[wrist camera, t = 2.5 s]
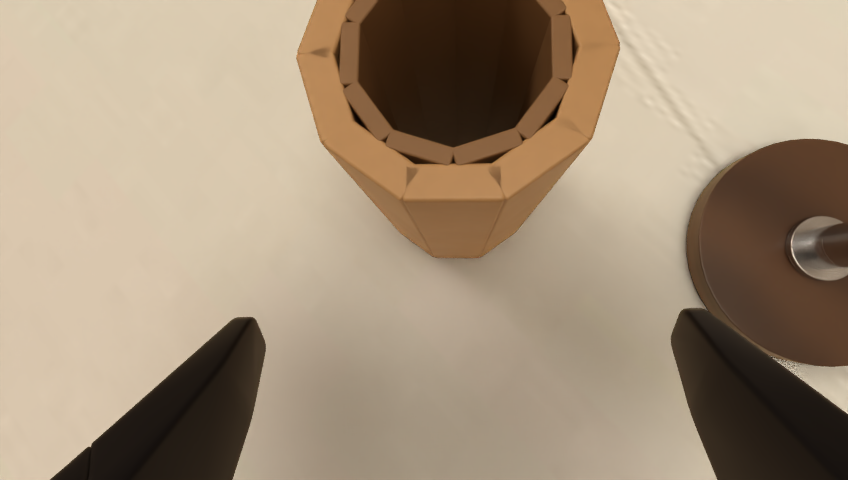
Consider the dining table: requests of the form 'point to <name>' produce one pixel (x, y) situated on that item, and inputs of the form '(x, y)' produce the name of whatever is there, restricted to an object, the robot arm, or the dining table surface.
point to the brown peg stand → (778, 250)
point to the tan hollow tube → (457, 106)
